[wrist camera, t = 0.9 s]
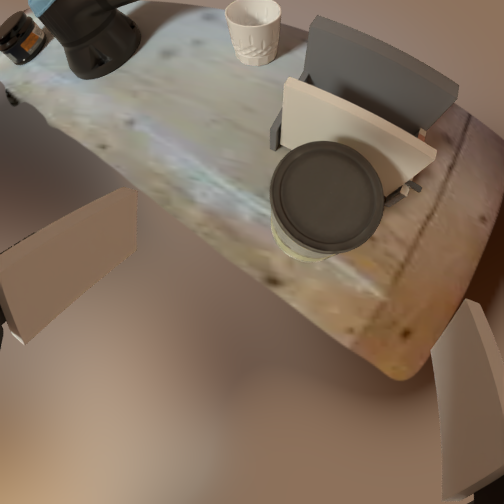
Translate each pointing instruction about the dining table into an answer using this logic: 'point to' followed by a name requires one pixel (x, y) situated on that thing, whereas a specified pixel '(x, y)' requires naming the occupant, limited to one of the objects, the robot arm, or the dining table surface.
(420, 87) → the grey u-shaped holder
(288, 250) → the coffee can
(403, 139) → the curved beige panel
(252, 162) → the dining table surface
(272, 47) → the white cup
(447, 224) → the dining table surface
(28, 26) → the supplement container
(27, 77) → the dining table surface
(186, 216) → the dining table surface
